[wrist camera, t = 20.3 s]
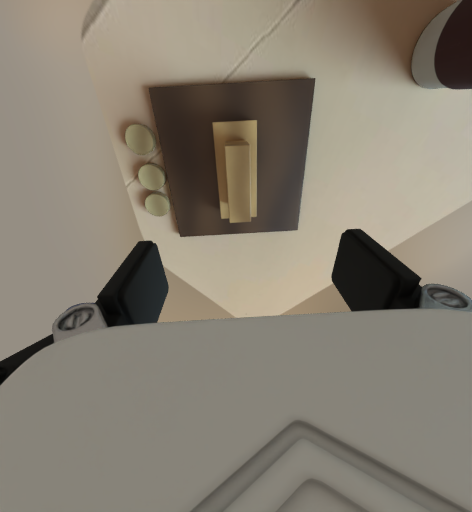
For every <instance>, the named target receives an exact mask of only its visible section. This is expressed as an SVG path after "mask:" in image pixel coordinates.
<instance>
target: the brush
mask: <svg viewBox="0 0 472 512" xmlns="http://www.w3.org/2000/svg"><path fill="white" fill-rule="evenodd" d="M213 134H214V145H215V156H216V167H217V178H218V189H219V200H220V211H221V219H226V218H229V220H230V223H236V222H251V217H256V216H257V120H246V121H228V122H213Z"/></svg>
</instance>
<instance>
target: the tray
mask: <svg viewBox="0 0 472 512" xmlns="http://www.w3.org/2000/svg"><path fill="white" fill-rule="evenodd" d="M314 86H315V78H312V79H295V80H277V81H260V82H242V83H225V84H208V85H190V86H173V87H155V88H149V92H150V97H151V101H152V106H153V111H154V116H155V120H156V125H157V130H158V134H159V139H160V144H161V149H162V153H163V158H164V163H165V167H166V172H167V177H168V181H169V186H170V191H171V196H172V200H173V205H174V210H175V214H176V219H177V224H178V228H179V233H180V237H186V236H204V235H222V234H239V233H257V232H274V231H292V230H298V221H299V213H300V204H301V196H302V187H303V179H304V171H305V162H306V154H307V145H308V137H309V128H310V120H311V111H312V103H313V94H314ZM246 120H257V216H256V217H251V222H236V223H230V220H229V218H226V219H221V211H220V200H219V189H218V178H217V167H216V156H215V145H214V134H213V122H228V121H246Z"/></svg>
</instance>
